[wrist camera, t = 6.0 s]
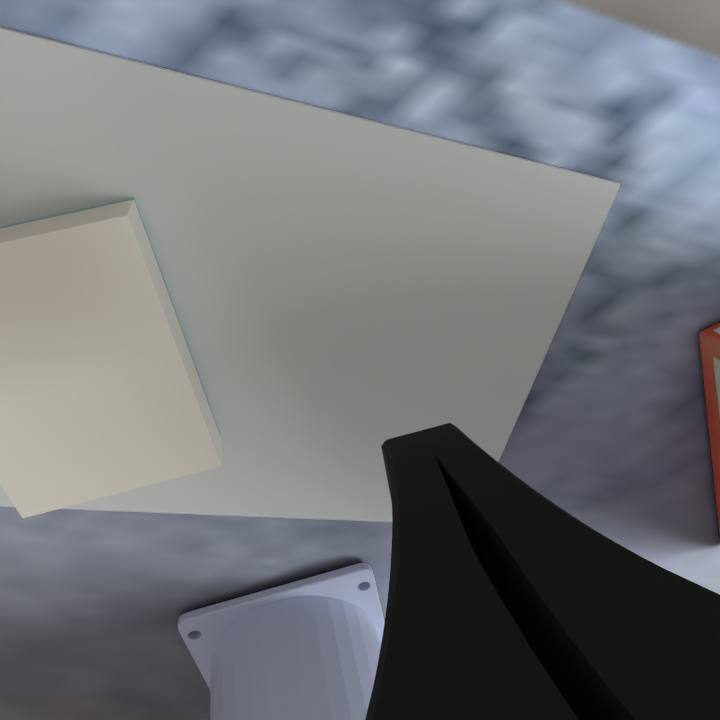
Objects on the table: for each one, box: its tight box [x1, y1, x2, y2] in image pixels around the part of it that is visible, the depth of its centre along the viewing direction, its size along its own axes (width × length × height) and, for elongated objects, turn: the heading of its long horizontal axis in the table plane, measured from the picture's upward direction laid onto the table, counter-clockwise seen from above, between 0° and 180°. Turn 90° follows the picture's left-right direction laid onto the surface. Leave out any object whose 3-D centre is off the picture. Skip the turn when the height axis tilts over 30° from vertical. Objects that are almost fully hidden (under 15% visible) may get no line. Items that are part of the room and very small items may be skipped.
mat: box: [0, 27, 621, 522], centre depth 19 cm, size 20×14×1 cm
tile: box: [0, 198, 222, 518], centre depth 17 cm, size 8×2×6 cm
